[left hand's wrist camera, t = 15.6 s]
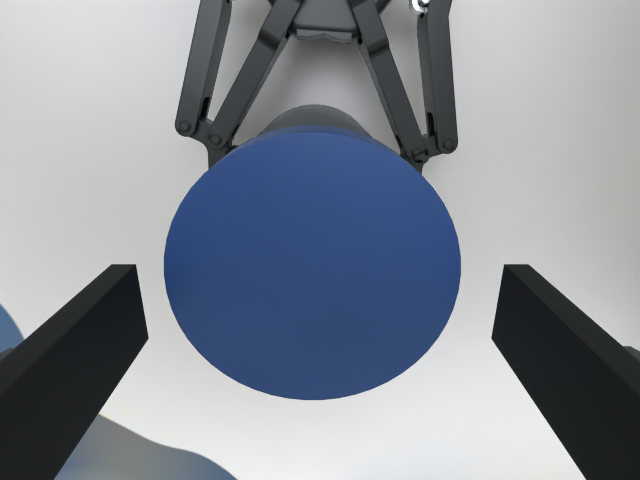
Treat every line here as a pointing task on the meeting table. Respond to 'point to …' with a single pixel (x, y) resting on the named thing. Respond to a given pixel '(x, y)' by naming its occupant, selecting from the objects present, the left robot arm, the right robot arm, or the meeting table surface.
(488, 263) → the meeting table surface
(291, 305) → the lid
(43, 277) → the meeting table surface
